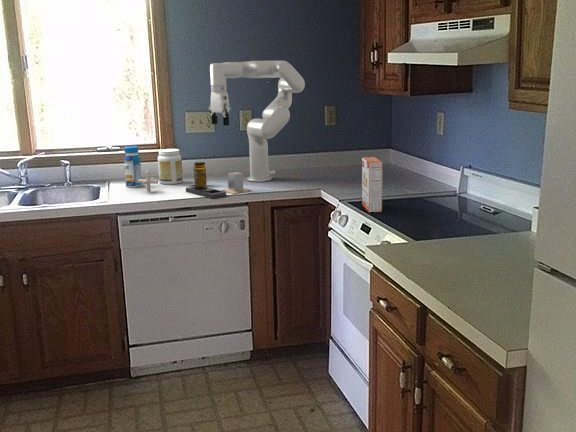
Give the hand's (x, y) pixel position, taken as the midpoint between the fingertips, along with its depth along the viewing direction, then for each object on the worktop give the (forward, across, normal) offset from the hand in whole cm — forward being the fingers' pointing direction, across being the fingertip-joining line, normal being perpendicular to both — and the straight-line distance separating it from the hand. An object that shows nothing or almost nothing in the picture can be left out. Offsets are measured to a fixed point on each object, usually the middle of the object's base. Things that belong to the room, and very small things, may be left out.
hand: (220, 124), depth 321 cm
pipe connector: (+31, +14, +34) cm, 48 cm away
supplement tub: (+31, +26, +14) cm, 42 cm away
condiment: (+31, +8, +9) cm, 33 cm away
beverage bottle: (+31, +32, +32) cm, 55 cm away
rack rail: (+30, -11, +18) cm, 37 cm away
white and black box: (+30, -16, +4) cm, 34 cm away
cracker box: (+31, -87, -13) cm, 93 cm away
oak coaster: (+30, -16, +4) cm, 34 cm away
